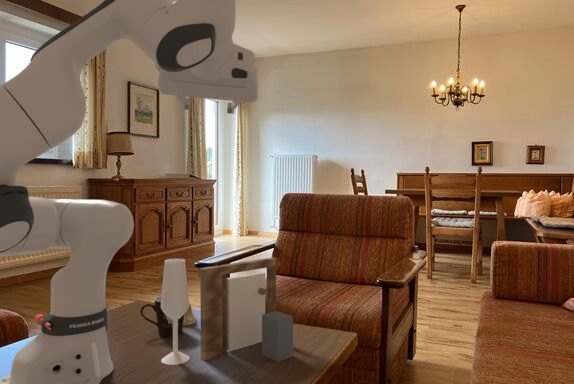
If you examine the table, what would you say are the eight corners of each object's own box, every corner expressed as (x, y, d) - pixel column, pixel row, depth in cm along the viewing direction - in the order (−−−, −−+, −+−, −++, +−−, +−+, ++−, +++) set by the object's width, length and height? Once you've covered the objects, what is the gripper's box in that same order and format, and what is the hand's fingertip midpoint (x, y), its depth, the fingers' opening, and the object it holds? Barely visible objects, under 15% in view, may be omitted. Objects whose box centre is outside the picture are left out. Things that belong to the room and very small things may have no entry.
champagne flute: (180, 351, 117) (180, 257, 116) (194, 359, 112) (194, 260, 111) (156, 358, 112) (155, 260, 112) (169, 367, 108) (168, 264, 107)
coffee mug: (190, 328, 135) (189, 294, 135) (180, 339, 126) (180, 302, 126) (151, 327, 136) (151, 293, 136) (139, 337, 127) (138, 301, 127)
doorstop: (277, 361, 111) (277, 320, 110) (261, 354, 115) (261, 314, 115) (293, 356, 114) (293, 316, 114) (277, 349, 119) (277, 310, 118)
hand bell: (202, 320, 143) (202, 268, 142) (183, 327, 136) (183, 273, 135) (183, 316, 147) (182, 266, 147) (163, 323, 140) (163, 270, 140)
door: (231, 352, 115) (231, 280, 115) (225, 349, 117) (225, 278, 117) (268, 341, 123) (268, 273, 123) (261, 338, 125) (261, 272, 125)
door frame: (202, 361, 111) (202, 269, 110) (198, 358, 112) (198, 268, 112) (276, 339, 126) (276, 258, 126) (271, 337, 128) (271, 257, 127)
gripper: (151, 62, 86) (157, 115, 97) (261, 73, 89) (254, 124, 100) (156, 41, 90) (161, 95, 101) (261, 52, 93) (255, 103, 104)
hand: (208, 109), depth 101 cm, fingers open, 8 cm apart
